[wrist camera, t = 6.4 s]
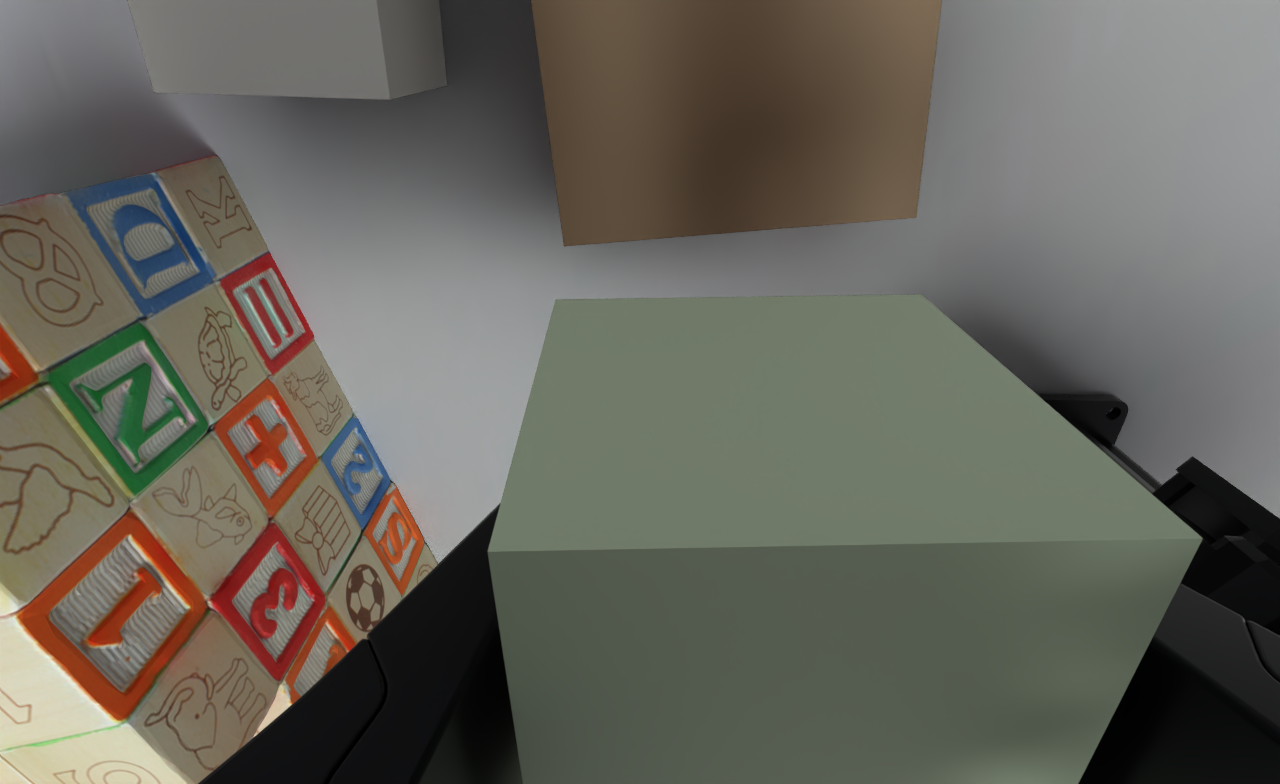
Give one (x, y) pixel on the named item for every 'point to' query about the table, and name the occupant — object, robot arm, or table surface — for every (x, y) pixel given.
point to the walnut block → (733, 113)
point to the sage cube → (812, 553)
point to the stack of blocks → (171, 487)
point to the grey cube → (292, 47)
